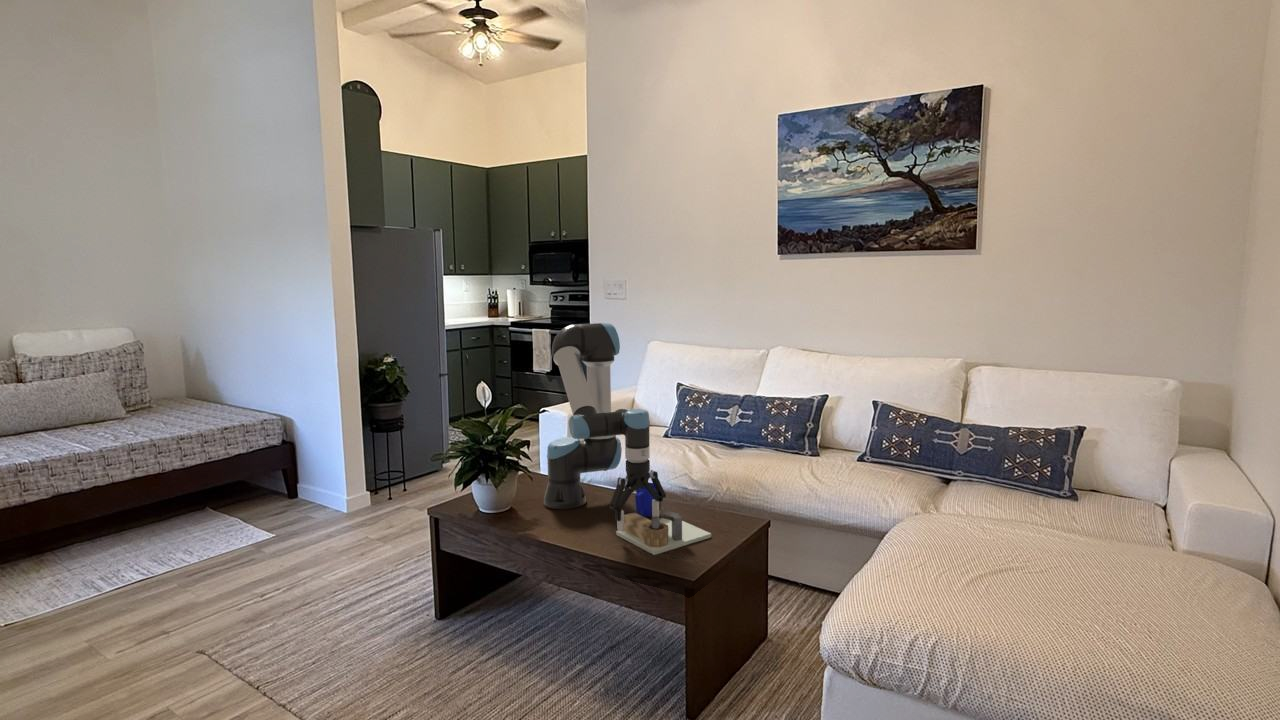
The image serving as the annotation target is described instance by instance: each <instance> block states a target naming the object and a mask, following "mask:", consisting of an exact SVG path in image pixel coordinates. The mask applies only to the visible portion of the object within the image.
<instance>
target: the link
mask: <svg viewBox="0 0 1280 720" xmlns="http://www.w3.org/2000/svg"><path fill="white" fill-rule="evenodd" d="M624 530H625V531H627V532H629V533H631V534H632V535H634V536H636V537H638V538H640V539H642V540H644V541H645V544H646V545H648V546H649V547H663V546H666V545H668V525H666V524H664V523H660V529H659V530H653V529H652V519H649V518H647V517H645V516H641V515H639V514H638V513H637V512H631V513H627V514H624Z"/></svg>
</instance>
